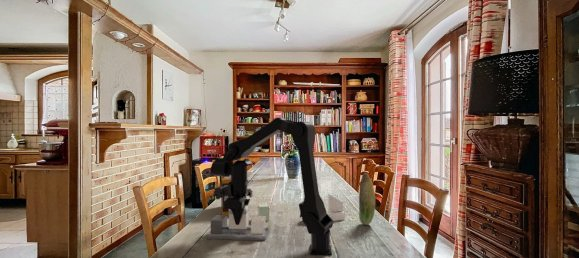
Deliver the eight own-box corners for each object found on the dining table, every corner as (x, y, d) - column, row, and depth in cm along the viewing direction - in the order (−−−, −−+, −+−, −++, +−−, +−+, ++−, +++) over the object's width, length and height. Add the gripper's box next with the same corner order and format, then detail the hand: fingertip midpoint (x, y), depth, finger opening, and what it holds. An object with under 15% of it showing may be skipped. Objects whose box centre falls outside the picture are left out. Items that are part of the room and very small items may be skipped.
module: (246, 229, 100) (246, 208, 100) (228, 228, 100) (228, 208, 100) (248, 225, 104) (248, 205, 104) (231, 224, 104) (231, 205, 104)
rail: (265, 240, 97) (265, 222, 97) (206, 238, 98) (206, 221, 98) (268, 231, 105) (268, 215, 105) (214, 230, 106) (214, 214, 106)
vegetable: (375, 223, 115) (375, 172, 115) (375, 228, 109) (375, 175, 109) (359, 222, 117) (359, 172, 117) (358, 227, 111) (358, 174, 111)
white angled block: (318, 213, 120) (328, 194, 121) (337, 223, 123) (347, 204, 124) (321, 215, 117) (332, 196, 118) (341, 226, 119) (351, 207, 120)
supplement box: (242, 205, 142) (243, 173, 142) (246, 214, 127) (246, 178, 127) (221, 206, 140) (221, 173, 140) (222, 215, 125) (222, 179, 125)
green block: (269, 221, 117) (269, 206, 117) (259, 221, 117) (259, 207, 117) (267, 217, 122) (267, 203, 122) (258, 218, 121) (258, 203, 121)
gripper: (223, 173, 112) (223, 214, 112) (207, 182, 93) (207, 231, 93) (252, 173, 111) (252, 214, 111) (241, 183, 92) (241, 232, 92)
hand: (238, 222), depth 102 cm, fingers closed on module, 4 cm apart
